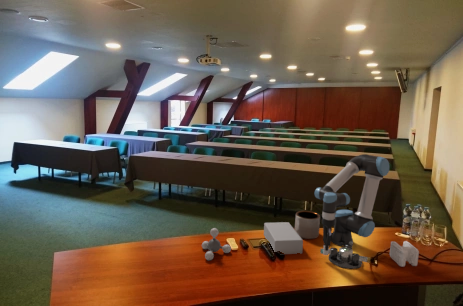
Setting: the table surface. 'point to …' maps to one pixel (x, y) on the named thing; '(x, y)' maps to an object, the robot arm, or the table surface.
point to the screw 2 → (358, 259)
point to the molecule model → (214, 245)
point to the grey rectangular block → (331, 253)
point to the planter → (307, 224)
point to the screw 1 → (349, 245)
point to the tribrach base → (344, 264)
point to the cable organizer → (404, 253)
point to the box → (283, 237)
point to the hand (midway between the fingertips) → (325, 254)
